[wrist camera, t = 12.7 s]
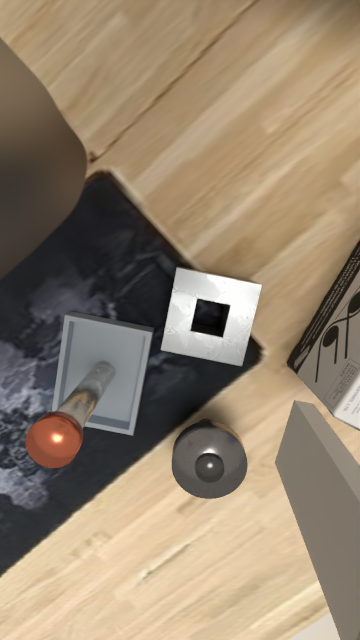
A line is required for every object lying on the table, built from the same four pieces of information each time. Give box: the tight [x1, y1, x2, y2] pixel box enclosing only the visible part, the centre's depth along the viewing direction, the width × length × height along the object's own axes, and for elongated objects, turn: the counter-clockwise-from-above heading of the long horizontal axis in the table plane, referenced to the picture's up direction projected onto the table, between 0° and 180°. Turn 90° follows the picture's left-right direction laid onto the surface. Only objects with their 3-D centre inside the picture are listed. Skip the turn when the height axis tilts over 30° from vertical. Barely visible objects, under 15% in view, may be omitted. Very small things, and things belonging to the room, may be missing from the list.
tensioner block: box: [161, 266, 262, 366], centre depth 39 cm, size 9×9×5 cm
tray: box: [52, 311, 154, 435], centre depth 42 cm, size 13×10×2 cm
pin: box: [26, 361, 115, 468], centre depth 34 cm, size 4×4×16 cm
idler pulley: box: [172, 419, 247, 499], centre depth 40 cm, size 8×8×9 cm
